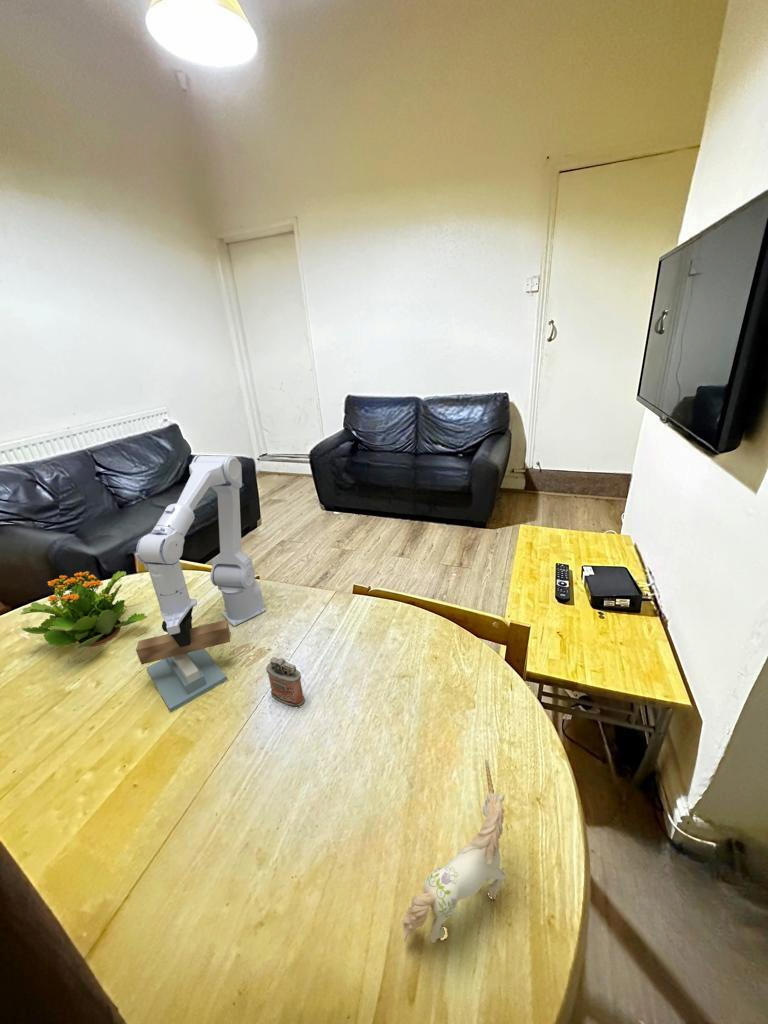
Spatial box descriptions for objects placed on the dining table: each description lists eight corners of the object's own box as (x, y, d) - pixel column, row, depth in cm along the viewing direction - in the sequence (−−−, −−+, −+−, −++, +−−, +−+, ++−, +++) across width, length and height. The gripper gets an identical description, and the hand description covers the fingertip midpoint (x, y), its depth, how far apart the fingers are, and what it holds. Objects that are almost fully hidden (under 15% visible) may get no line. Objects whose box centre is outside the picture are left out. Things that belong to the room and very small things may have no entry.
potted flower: (172, 609, 116) (156, 555, 109) (114, 673, 94) (89, 611, 87) (90, 606, 119) (69, 553, 112) (16, 668, 97) (-16, 607, 90)
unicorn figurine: (524, 851, 60) (534, 792, 54) (445, 999, 47) (448, 941, 41) (480, 815, 64) (485, 758, 59) (398, 941, 51) (395, 882, 46)
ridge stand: (147, 670, 95) (140, 652, 93) (199, 644, 102) (194, 626, 100) (170, 712, 84) (163, 692, 82) (227, 679, 91) (222, 660, 89)
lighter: (267, 697, 87) (260, 660, 83) (278, 685, 89) (271, 649, 85) (298, 711, 83) (291, 673, 79) (308, 698, 86) (302, 662, 82)
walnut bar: (141, 664, 87) (135, 650, 86) (143, 655, 90) (138, 640, 88) (230, 641, 92) (226, 627, 91) (230, 633, 95) (226, 619, 93)
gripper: (188, 603, 80) (203, 657, 85) (194, 566, 92) (206, 615, 98) (148, 611, 77) (166, 666, 83) (159, 573, 90) (174, 623, 96)
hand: (186, 639), depth 90 cm, fingers closed on walnut bar, 3 cm apart
